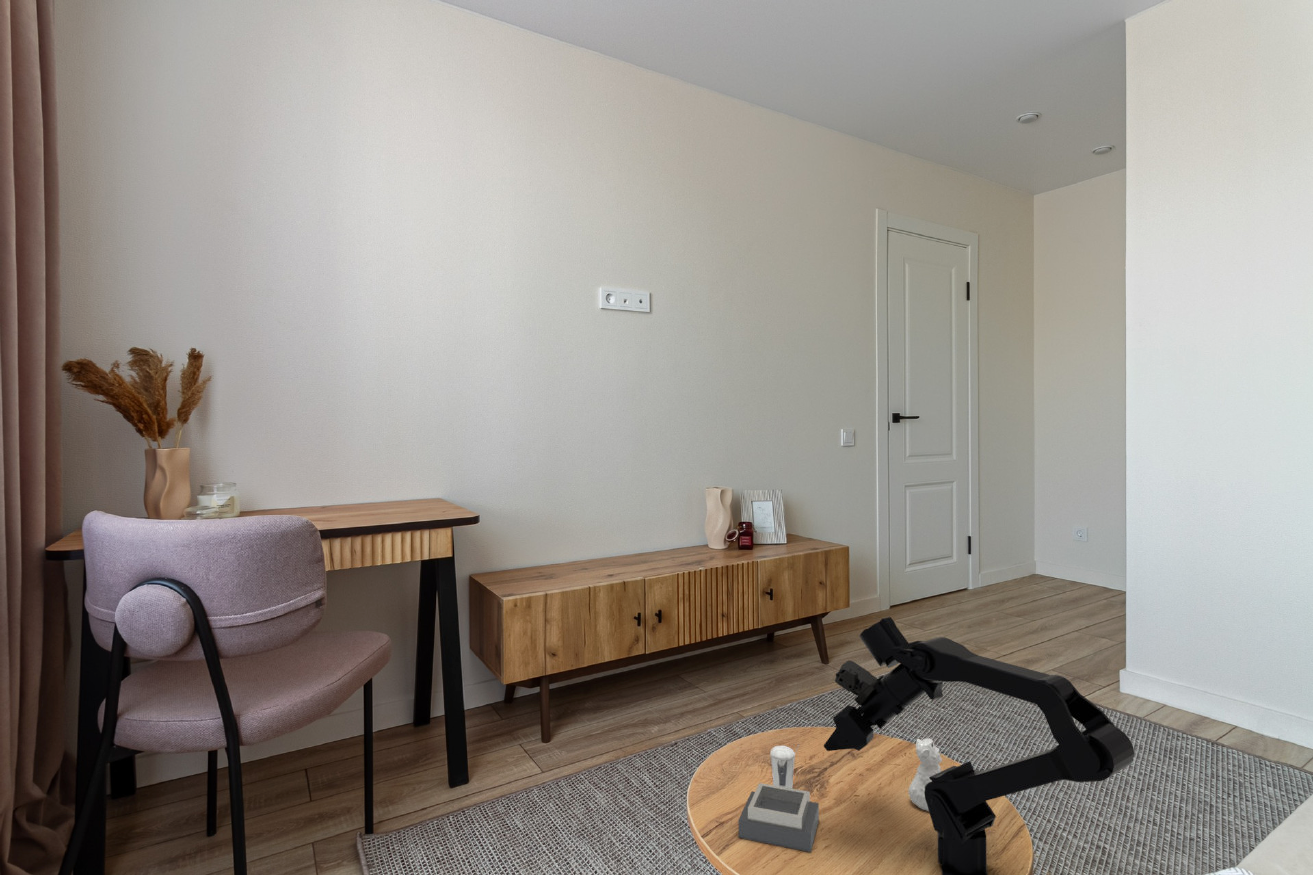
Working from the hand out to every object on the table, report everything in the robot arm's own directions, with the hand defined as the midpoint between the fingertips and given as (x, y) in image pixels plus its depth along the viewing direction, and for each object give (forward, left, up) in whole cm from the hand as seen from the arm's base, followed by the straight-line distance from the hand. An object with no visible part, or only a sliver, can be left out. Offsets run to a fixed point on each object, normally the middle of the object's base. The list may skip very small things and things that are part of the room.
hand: (835, 738), depth 123 cm
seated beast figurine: (-16, -9, -14) cm, 23 cm away
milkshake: (+10, -3, -14) cm, 17 cm away
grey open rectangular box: (+9, +8, -14) cm, 18 cm away
